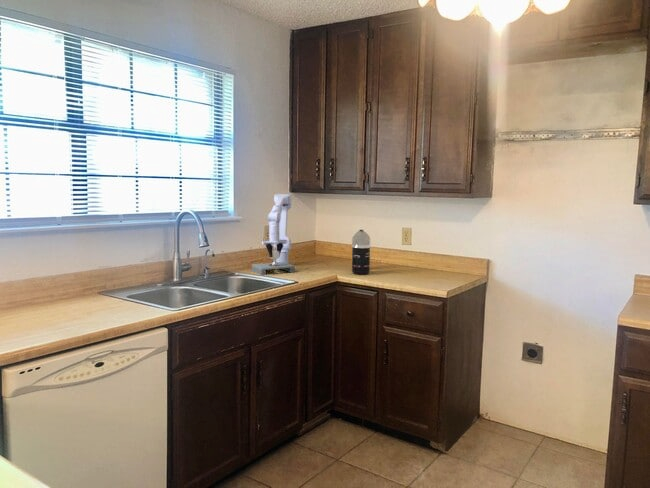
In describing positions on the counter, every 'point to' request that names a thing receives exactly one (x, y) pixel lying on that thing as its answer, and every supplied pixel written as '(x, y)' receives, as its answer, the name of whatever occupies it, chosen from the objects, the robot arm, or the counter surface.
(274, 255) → the peg
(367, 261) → the black and grey bottle
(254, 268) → the keyhole plate
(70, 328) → the counter surface
